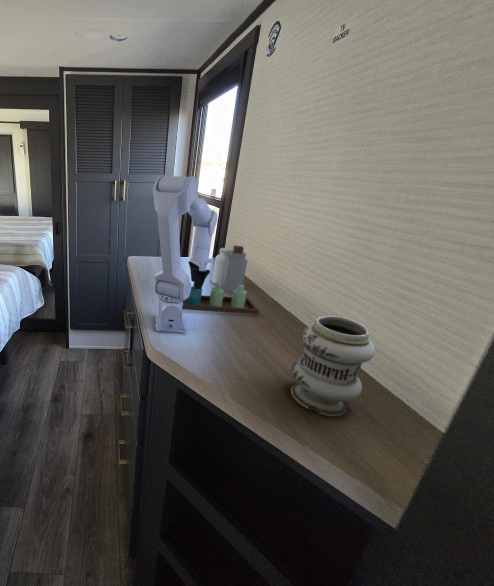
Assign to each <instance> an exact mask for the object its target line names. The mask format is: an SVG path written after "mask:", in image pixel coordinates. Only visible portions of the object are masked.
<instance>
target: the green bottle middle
mask: <svg viewBox="0 0 494 586" xmlns="http://www.w3.org/2000/svg"><path fill="white" fill-rule="evenodd" d="M221 286H222V284H219V283H216V284H214V287H211V289H210V294H209V296H210V300H209V306H216V307H222V302H223V297H225V296H224V295H225V290H224V289H223V288H222V287H221Z"/></svg>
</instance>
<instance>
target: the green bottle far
mask: <svg viewBox="0 0 494 586" xmlns="http://www.w3.org/2000/svg"><path fill="white" fill-rule="evenodd" d="M247 294H248V291H247V290H245V285H244V284H243V285H238V288H237V289H234V290H233V291H232V296H231V297H232V300H231V305H230V306H231V307H232V308H244V305H245V300H246V298H247Z"/></svg>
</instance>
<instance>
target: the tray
mask: <svg viewBox="0 0 494 586" xmlns="http://www.w3.org/2000/svg"><path fill="white" fill-rule="evenodd" d="M209 300H210V295H201V302H200V305H188V298H187V299H186V300H185V301H183V307H182V310H185V311H199V312H202V311H203V312H216V313H230V314H231V313H234V314H235V313H236V314H248V315H249V314H250V315H259V312H260V311H259V309H258V307H257V306H256V305H255V304H254V303H253V302H252V300H251V299H250V298H249V297H246V300H245V305H244V308H232V307H231V306H230V305H231V300H232V296H223V302H222V307H216V306H209Z"/></svg>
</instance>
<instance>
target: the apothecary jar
mask: <svg viewBox="0 0 494 586" xmlns="http://www.w3.org/2000/svg"><path fill="white" fill-rule="evenodd" d="M300 338H301V342H302V343H303V345H304V350H303V352H302V355H301V357H300V358H298V359H296V360H295V361H294V362H293V363H292V365H291V368H290V373H291V376H292V379H293V380H294V381H295V382H296V383H295V384H293V386H291V388H290V394H291V396H292V398H293V399H294V401H295V402H297V403H298V404H299V405H301V406H302V407H304V408H305V409H307V410H310V411H315V412H316V413H318V414H319V415H322V416H327V417H340V416H342V415H344V414H345V413H346V408H347V407H346V405H345V402H348V401H351V400H354V399H356V398H358V397H359V396H360V395H361V394H362V390H363V385H362V381H361V379H360V378H359V374H360V370H361V367H362V365H363V363H367V362H369V361H371V360H372V359H373V358H374V357H375V354H376V348H375V345H374V343H373V342H372V341H371V340H370V330H369V328H368V327H367V326H365V325H364V324H363V323H361V322H358V321H355V320H353V319H350V318H346V317H342V316H335V315H322V316H320V317H317V318H316V319H315V320H314V323H313V324H311V325H308V326H307V327H305V328H304V329H303V330H302V332H301V337H300Z"/></svg>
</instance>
